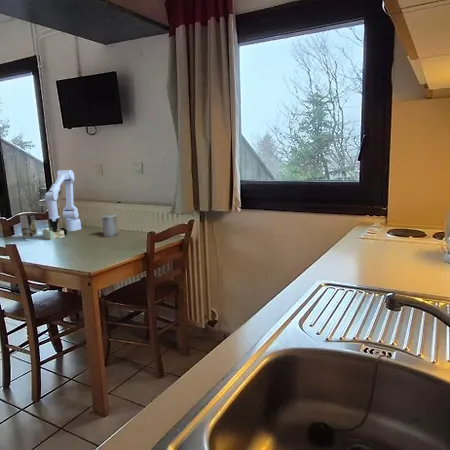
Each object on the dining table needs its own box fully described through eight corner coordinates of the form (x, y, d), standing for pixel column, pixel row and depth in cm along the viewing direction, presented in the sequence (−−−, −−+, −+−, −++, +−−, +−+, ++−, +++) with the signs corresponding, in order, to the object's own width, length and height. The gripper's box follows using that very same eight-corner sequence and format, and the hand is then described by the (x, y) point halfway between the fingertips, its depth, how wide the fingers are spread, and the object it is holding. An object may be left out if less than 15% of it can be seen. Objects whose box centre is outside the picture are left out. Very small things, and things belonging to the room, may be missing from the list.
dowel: (55, 234, 274) (53, 220, 272) (58, 234, 273) (57, 220, 272) (52, 235, 271) (50, 221, 270) (55, 235, 270) (54, 221, 269)
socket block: (59, 235, 278) (58, 229, 277) (64, 236, 273) (63, 231, 272) (47, 237, 273) (46, 231, 272) (52, 239, 267) (51, 233, 266)
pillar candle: (114, 233, 284) (111, 211, 281) (121, 234, 277) (118, 213, 274) (101, 235, 278) (98, 214, 275) (107, 237, 270) (105, 215, 267)
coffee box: (31, 238, 277) (28, 215, 273) (22, 238, 277) (19, 215, 274) (37, 235, 286) (35, 212, 282) (28, 235, 286) (25, 213, 283)
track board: (71, 233, 287) (70, 224, 286) (80, 236, 278) (79, 226, 277) (41, 239, 273) (40, 229, 272) (50, 242, 263) (48, 232, 262)
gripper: (59, 211, 264) (62, 231, 267) (58, 208, 277) (61, 227, 280) (47, 212, 261) (50, 232, 264) (47, 209, 274) (50, 228, 277)
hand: (55, 230), depth 272 cm, fingers closed on dowel, 3 cm apart
